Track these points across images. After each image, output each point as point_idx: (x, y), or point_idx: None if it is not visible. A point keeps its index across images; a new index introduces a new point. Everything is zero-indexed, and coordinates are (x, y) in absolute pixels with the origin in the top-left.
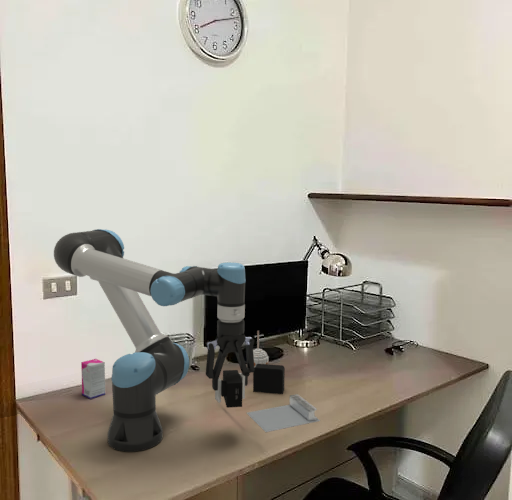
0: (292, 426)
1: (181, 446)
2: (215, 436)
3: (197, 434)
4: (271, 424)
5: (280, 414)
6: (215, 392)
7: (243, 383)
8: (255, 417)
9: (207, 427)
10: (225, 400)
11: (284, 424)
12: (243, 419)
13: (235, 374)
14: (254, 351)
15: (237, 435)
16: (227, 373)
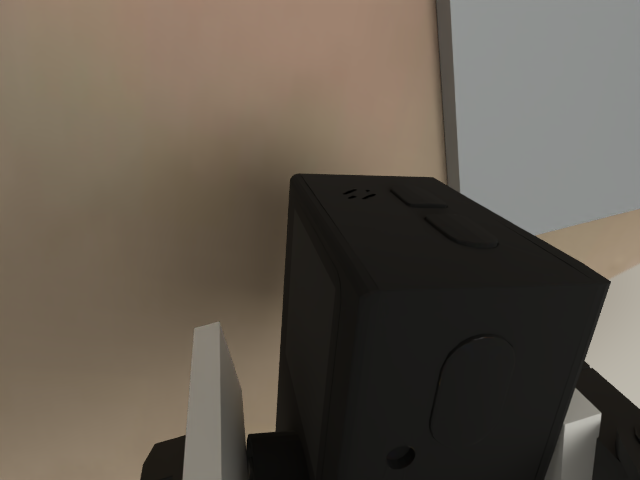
0: (600, 217)
1: (10, 271)
2: (208, 193)
3: (100, 149)
4: (522, 177)
5: (621, 61)
6: (193, 378)
7: None
8: (478, 66)
9: (167, 66)
10: (280, 410)
11: (578, 190)
12: (410, 4)
13: (503, 465)
14: None
15: None
16: (402, 436)
